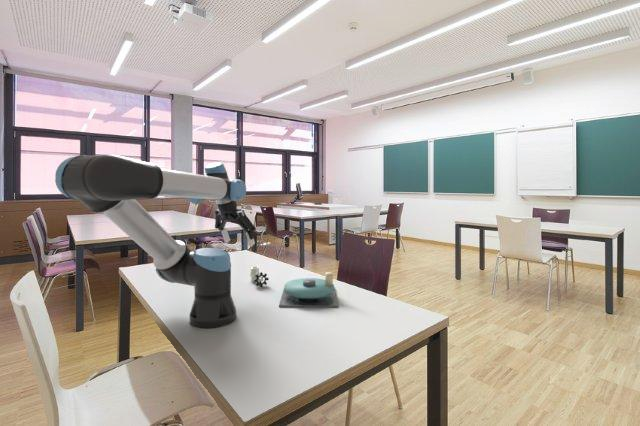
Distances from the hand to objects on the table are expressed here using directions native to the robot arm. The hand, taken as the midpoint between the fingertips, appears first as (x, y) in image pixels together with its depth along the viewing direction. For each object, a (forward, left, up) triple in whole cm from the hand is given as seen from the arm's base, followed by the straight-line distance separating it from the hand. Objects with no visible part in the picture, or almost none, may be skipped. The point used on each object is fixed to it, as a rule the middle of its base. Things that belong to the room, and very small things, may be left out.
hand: (240, 243), depth 145 cm
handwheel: (-12, -31, -17) cm, 37 cm away
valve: (+6, -6, -20) cm, 22 cm away
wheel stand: (-12, -31, -20) cm, 38 cm away
